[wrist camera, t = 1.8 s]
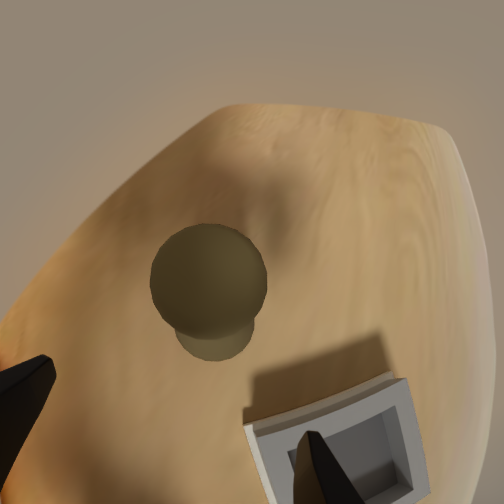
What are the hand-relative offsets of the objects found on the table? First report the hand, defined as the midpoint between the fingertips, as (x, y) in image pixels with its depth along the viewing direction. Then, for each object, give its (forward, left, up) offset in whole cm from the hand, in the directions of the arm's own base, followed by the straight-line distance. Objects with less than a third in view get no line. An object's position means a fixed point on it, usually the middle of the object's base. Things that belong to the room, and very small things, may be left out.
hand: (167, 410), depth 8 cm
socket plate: (+8, -9, -12) cm, 17 cm away
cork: (+2, +5, -12) cm, 13 cm away
